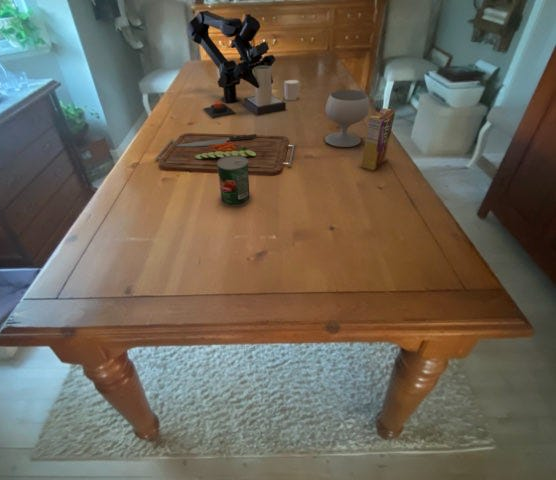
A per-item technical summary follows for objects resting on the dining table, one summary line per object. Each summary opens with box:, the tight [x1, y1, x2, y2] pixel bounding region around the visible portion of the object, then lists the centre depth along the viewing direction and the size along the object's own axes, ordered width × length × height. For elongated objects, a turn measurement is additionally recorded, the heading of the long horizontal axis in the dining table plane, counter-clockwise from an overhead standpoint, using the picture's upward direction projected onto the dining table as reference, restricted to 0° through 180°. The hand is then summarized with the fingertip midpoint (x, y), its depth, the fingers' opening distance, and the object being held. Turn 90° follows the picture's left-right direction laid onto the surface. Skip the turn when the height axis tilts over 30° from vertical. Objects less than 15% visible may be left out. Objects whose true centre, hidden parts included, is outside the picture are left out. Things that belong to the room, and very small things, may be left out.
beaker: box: [253, 65, 273, 105], centre depth 140 cm, size 7×7×13 cm
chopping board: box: [154, 132, 296, 176], centre depth 116 cm, size 45×27×3 cm, turn 80°
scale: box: [242, 94, 287, 117], centre depth 148 cm, size 15×13×3 cm
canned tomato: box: [217, 155, 251, 208], centre depth 92 cm, size 8×8×11 cm
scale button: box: [213, 100, 224, 108], centre depth 146 cm, size 4×4×2 cm
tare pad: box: [202, 103, 236, 119], centre depth 147 cm, size 12×10×2 cm
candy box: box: [361, 107, 396, 171], centre depth 103 cm, size 9×4×15 cm, turn 140°
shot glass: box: [283, 79, 300, 101], centre depth 155 cm, size 7×7×7 cm
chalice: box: [324, 89, 370, 148], centre depth 116 cm, size 14×14×15 cm
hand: (265, 85), depth 139 cm, fingers open, 7 cm apart
